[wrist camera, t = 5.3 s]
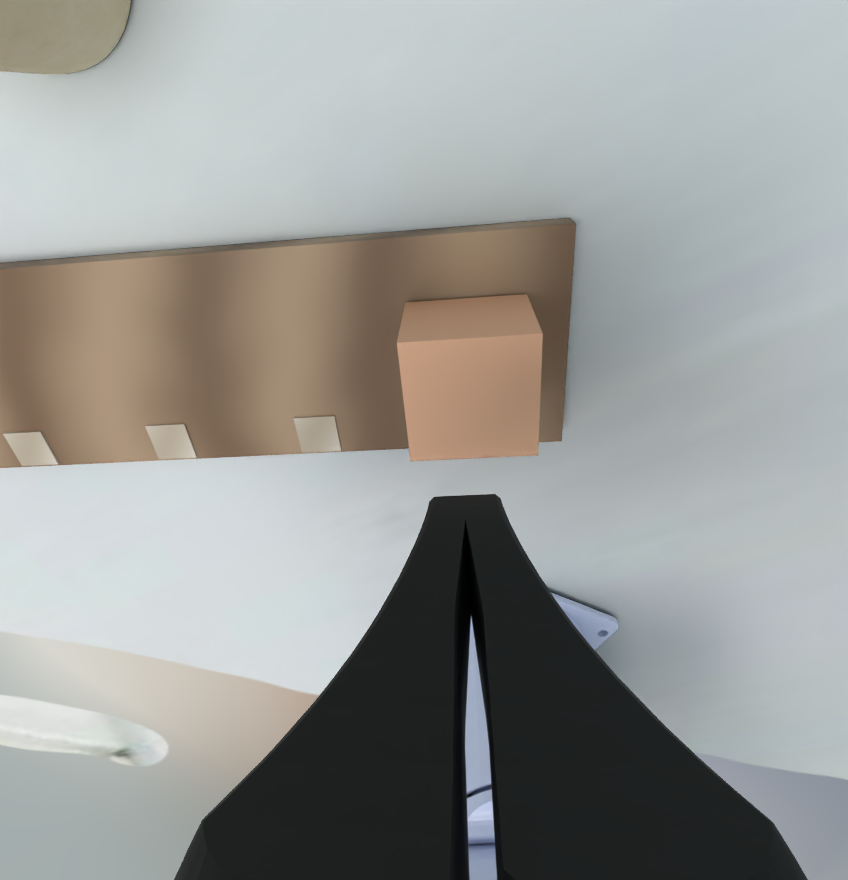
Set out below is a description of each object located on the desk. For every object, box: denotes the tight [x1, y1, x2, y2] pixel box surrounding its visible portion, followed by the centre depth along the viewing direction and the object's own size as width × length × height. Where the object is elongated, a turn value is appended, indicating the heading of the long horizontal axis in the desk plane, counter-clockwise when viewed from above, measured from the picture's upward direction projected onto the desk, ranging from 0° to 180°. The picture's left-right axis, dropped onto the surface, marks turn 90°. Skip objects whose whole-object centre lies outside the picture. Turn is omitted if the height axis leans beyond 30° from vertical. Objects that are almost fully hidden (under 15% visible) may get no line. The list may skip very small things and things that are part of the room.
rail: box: [0, 218, 576, 468], centre depth 20 cm, size 25×8×1 cm, turn 95°
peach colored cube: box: [397, 294, 543, 461], centre depth 17 cm, size 4×4×4 cm
